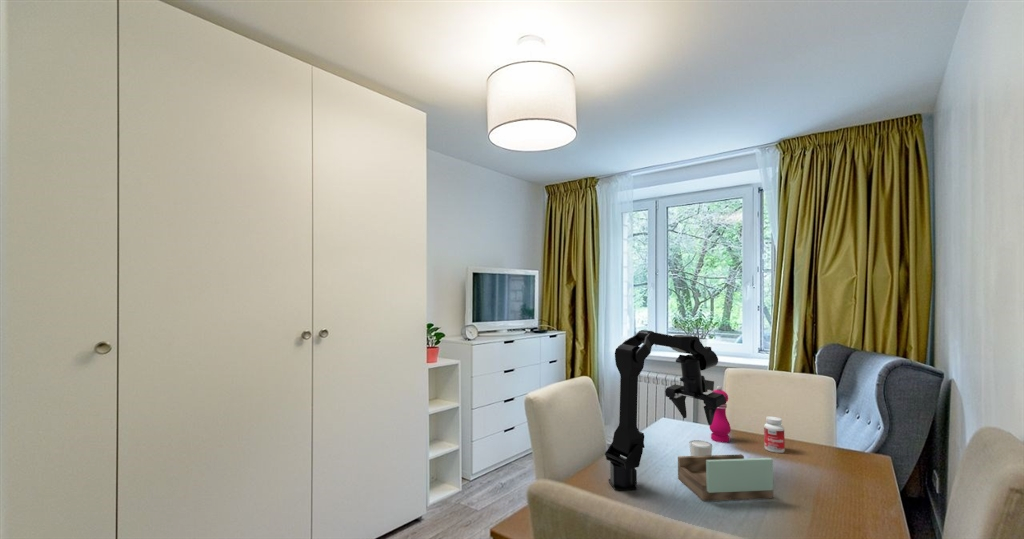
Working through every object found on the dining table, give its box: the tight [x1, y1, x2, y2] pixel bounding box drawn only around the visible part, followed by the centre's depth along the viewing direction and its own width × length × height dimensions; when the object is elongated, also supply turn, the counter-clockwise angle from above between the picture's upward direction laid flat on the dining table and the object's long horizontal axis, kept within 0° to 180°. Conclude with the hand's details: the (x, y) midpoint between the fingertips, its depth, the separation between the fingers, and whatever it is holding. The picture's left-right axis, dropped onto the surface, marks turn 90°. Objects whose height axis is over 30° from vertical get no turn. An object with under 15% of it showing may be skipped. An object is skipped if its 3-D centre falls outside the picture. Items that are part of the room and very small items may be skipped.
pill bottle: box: [763, 416, 786, 454], centre depth 156 cm, size 6×6×11 cm
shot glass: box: [689, 439, 713, 456], centre depth 142 cm, size 7×7×7 cm
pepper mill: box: [709, 385, 732, 443], centre depth 167 cm, size 7×7×20 cm
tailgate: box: [706, 457, 774, 493], centre depth 118 cm, size 18×1×8 cm, turn 95°
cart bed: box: [677, 453, 774, 502], centre depth 126 cm, size 20×14×6 cm
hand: (697, 421), depth 143 cm, fingers open, 9 cm apart
